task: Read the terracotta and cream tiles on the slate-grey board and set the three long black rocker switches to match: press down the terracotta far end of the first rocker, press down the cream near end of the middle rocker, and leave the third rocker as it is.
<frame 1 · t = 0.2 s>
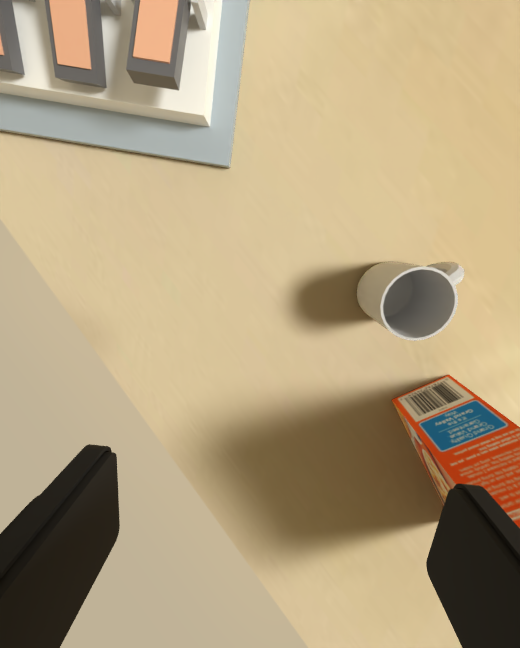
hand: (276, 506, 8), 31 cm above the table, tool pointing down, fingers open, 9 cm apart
cup: (394, 284, 37), on the table
switch unit: (111, 32, 31), on the table
orange cereal box: (448, 450, 43), on the table
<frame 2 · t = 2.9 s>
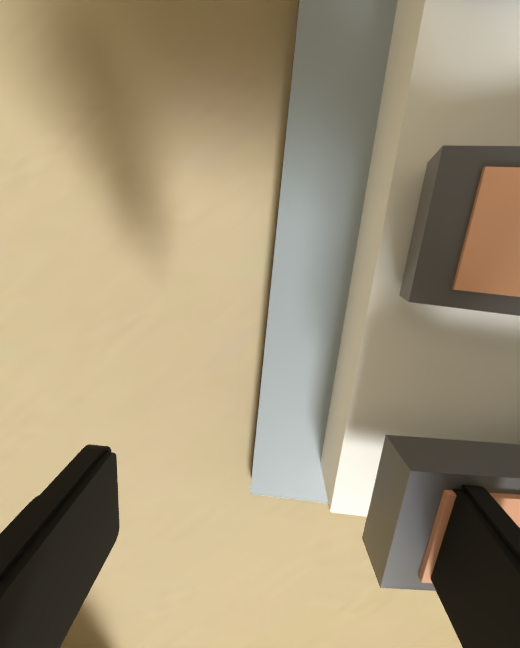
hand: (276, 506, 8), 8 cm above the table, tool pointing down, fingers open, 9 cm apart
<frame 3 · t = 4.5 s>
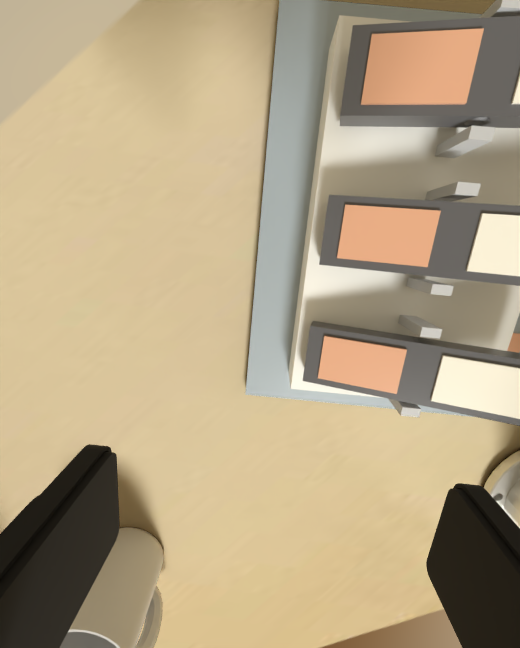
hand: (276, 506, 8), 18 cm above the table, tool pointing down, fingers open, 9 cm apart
rocker c: (490, 75, 15), point 7 cm above the table, hinge at 12.0°
cup: (142, 556, 33), on the table
switch unit: (399, 241, 23), on the table
rocker b: (448, 241, 17), point 7 cm above the table, hinge at 12.0°
rocker a: (416, 370, 19), point 7 cm above the table, hinge at 14.5°
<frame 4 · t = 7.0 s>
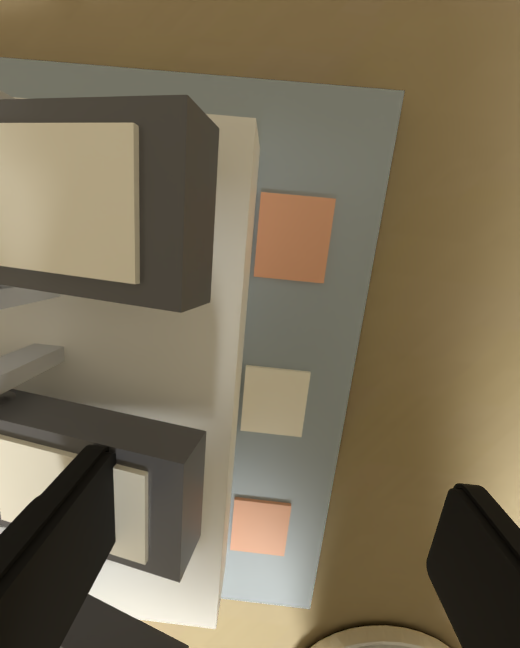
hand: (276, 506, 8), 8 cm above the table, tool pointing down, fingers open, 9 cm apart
switch unit: (106, 373, 16), on the table
rocker a: (21, 626, 12), point 7 cm above the table, hinge at 15.2°
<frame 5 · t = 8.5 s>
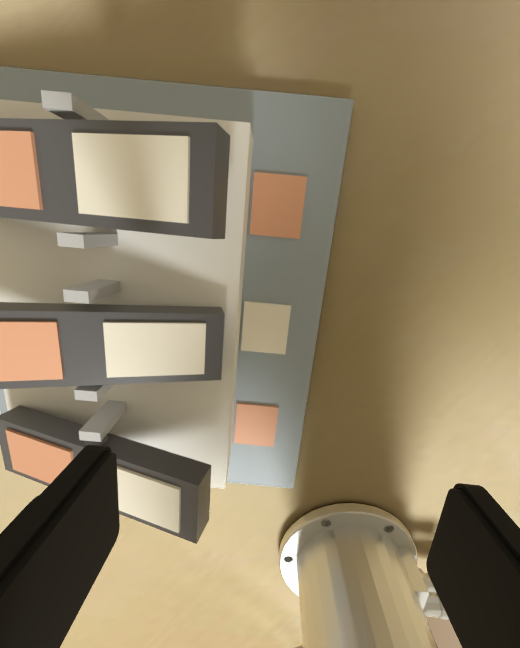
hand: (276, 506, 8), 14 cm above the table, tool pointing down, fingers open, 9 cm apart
rocker c: (71, 177, 13), point 7 cm above the table, hinge at 12.0°
switch unit: (139, 311, 22), on the table
rocker b: (87, 345, 16), point 7 cm above the table, hinge at -15.9°, touching switch unit
rocker a: (98, 468, 18), point 7 cm above the table, hinge at 15.2°
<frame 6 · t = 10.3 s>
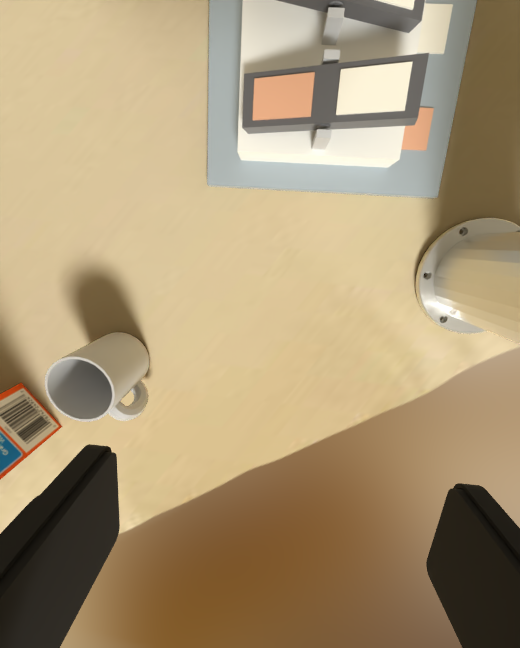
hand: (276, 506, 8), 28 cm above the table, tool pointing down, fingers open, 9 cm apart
cup: (131, 364, 39), on the table
switch unit: (325, 33, 29), on the table
rocker a: (326, 98, 24), point 7 cm above the table, hinge at 15.2°
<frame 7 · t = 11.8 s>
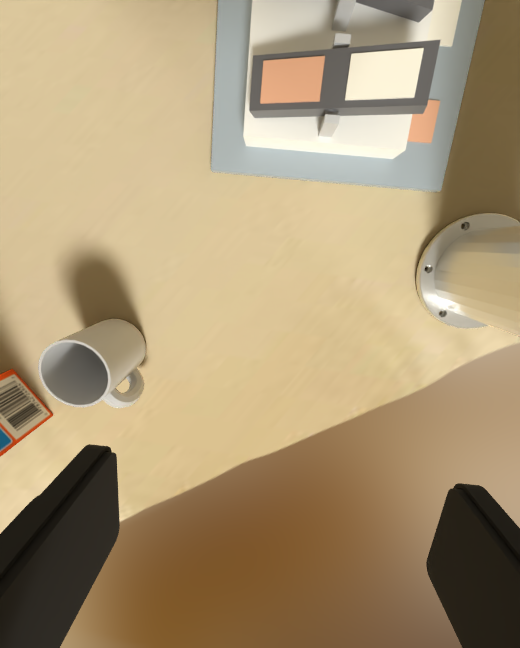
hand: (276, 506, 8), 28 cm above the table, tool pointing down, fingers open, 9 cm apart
cup: (127, 352, 38), on the table
switch unit: (334, 21, 28), on the table
rocker a: (335, 83, 24), point 7 cm above the table, hinge at 15.2°
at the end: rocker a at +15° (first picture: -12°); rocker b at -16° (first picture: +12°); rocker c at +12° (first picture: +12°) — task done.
